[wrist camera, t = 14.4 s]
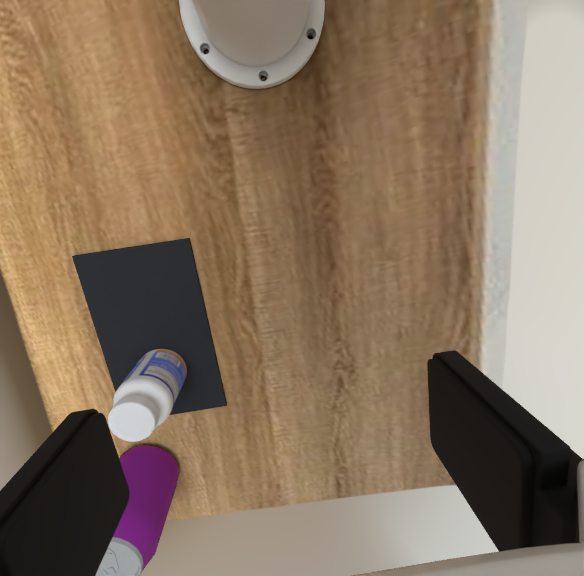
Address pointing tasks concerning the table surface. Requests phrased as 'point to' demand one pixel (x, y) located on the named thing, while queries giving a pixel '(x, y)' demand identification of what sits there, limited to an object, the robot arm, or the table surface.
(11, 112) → the table surface
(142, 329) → the desk mat
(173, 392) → the pill bottle
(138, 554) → the beverage can
